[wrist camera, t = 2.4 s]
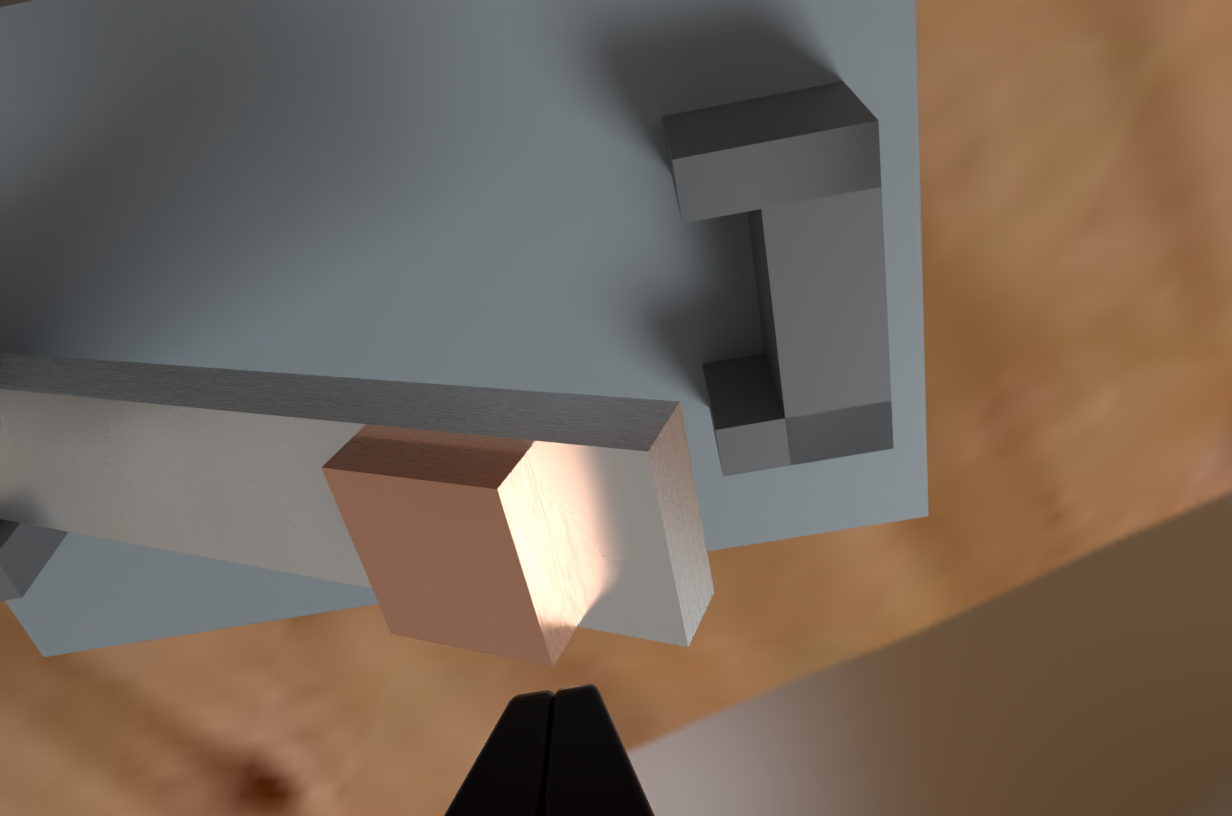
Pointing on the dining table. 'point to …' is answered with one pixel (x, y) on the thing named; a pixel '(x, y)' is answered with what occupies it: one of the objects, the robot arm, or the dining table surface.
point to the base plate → (473, 240)
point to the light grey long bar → (377, 492)
